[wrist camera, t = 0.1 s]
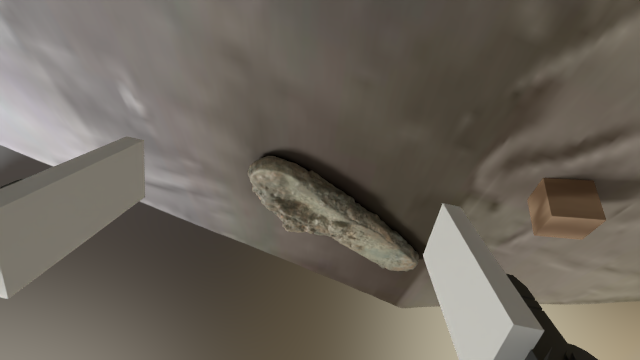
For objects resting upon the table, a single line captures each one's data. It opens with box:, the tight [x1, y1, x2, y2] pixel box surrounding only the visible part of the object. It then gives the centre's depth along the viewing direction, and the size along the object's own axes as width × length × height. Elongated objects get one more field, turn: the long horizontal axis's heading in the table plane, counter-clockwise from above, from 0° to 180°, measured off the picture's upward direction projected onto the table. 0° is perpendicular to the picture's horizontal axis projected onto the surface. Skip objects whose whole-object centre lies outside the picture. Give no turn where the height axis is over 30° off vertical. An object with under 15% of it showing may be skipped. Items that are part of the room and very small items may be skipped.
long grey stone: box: [248, 156, 419, 271], centre depth 48 cm, size 35×5×10 cm
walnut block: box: [528, 178, 606, 239], centre depth 34 cm, size 4×4×4 cm
